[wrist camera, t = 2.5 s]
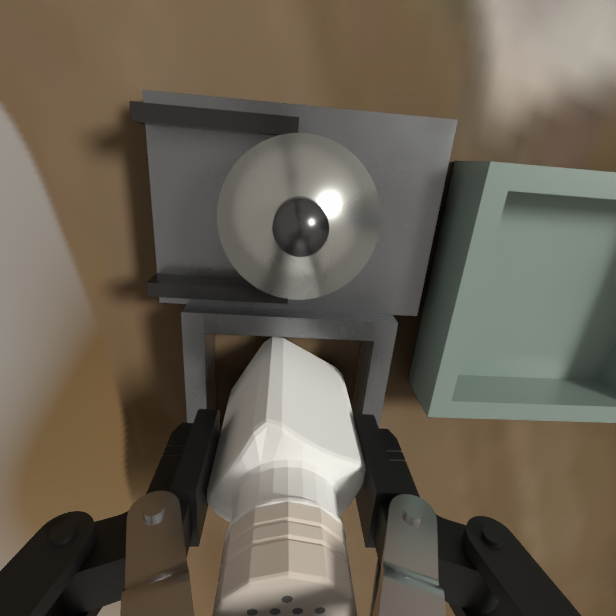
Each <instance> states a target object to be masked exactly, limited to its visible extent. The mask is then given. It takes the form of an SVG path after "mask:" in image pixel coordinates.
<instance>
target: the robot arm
mask: <svg viewBox="0 0 616 616" xmlns="http://www.w3.org/2000/svg"><path fill="white" fill-rule="evenodd" d="M353 418H354V422H355V426H356V430H357V434H358V438H359V442H360V446H361V450H362V453H363V457H364V461H365V465H366V474H365V479H364V484H363V486H362V487H361V489H360V490H359V492H358V493H357V495H356V496H355V497H356V502H357V507H358V512H359V517H360V522H361V527H362V532H363V537H364V542H365V547H371V548H376V551H377V556H378V560H377V564H376V570H375V578H374V585H373V593H372V601H371V608H370V616H445V601H446V602H448V603H449V605H450V607H451V608H452V610H453V612H454V614H455V615H456V616H581V615H580V614H579V612H578V611H577V610H576V609H575V608H574V606H573V605H572V604H571V603H570V602H569V600H568V599H567V598H566V597H565V596H564V595H563V593H562V592H561V591H560V590H559V589H558V587H557V586H556V585H555V584H554V583H553V581H552V580H551V579H550V578H549V577H548V575H547V574H546V573H545V572H544V571H543V570H542V568H541V567H540V566H539V565H538V564H537V562H536V561H535V560H534V559H533V558H532V556H531V555H530V554H529V553H528V552H527V550H526V549H525V548H524V547H523V546H522V545H521V543H520V542H519V541H518V540H517V539H516V537H515V536H514V535H513V534H512V533H511V532H510V531H509V529H507V528H506V527H505V526H504V525H503V524H501V523H500V522H498V521H496V520H494V519H492V518H489V517H485V516H476V517H473V518H471V519H470V520H469V521H468V523H467V525H463V524H460V523H457V522H453V521H450V520H447V519H444V518H442V517H440V516H438V515H436V514H435V512H434V510H433V509H432V507H431V506H430V505H429V504H428V503H427V502H426V501H424V500H423V499H421V498H420V496H419V494H418V491H417V489H416V486H415V484H414V481H413V479H412V476H411V474H410V471H409V468H408V466H407V463H406V462H405V458H404V456H403V453H402V452H401V448H400V445H399V443H398V440H397V438H396V437H395V436H394V435H393V434H392V433H391V432H390V431H389V430H388V429H379V428H378V425H377V422H376V419H375V416H374V415H373V414H354V415H353ZM219 438H220V411H219V409H198V411H197V414H196V417H195V420H194V422H193V423H182V424H180V425H179V426H178V427H177V428H176V429H175V430H174V431H173V432H172V434H171V436H170V439H169V441H168V444H167V447H166V448H165V451H164V453H163V456H162V458H161V460H160V463H159V465H158V467H157V470H156V472H155V475H154V477H153V479H152V482H151V484H150V486H149V489H148V491H147V493H146V495H144V496H142V497H141V498H139V499H138V500H137V501H136V502H135V503H134V504H133V505H132V506H131V508H130V509H129V511H127V512H125V513H124V514H121V515H118V516H115V517H111V518H107V519H104V520H100V521H96V522H94V521H93V519H92V517H91V516H90V515H89V514H87V513H85V512H80V511H74V512H68V513H65V514H62V515H59V516H57V517H56V518H53V519H52V520H50V521H49V522H47V523H46V524H45V525H44V526H43V527H42V528H41V529H40V530H39V531H38V532H37V533H36V534H35V535H34V536H33V537H32V538H31V539H30V540H29V541H28V542H27V543H26V544H25V546H24V547H23V548H22V549H21V550H20V551H19V552H18V553H17V554H16V555H15V556H14V557H13V558H12V560H10V561H9V563H8V564H7V565H6V566H5V567H4V568H3V569H2V570H1V571H0V616H97V614H98V613H99V611H100V610H101V608H102V607H103V606H105V605H108V604H111V603H114V602H117V601H120V600H121V616H194V610H193V601H192V593H191V585H190V577H189V570H188V567H187V559H186V558H187V554H188V550H189V546H199V543H200V539H201V534H202V530H203V525H204V521H205V517H206V512H207V508H208V502H207V488H208V483H209V479H210V475H211V471H212V467H213V463H214V458H215V454H216V450H217V446H218V442H219Z"/></svg>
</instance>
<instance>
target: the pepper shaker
mask: <svg viewBox="0 0 616 616" xmlns="http://www.w3.org/2000/svg"><path fill="white" fill-rule="evenodd" d="M365 474H366V465H365V461H364V457H363V453H362V450H361V446H360V442H359V438H358V434H357V430H356V426H355V422H354V418H353V412H352V408H351V404H350V400H349V397H348V393H347V389H346V385H345V381H344V377H343V375H342V374H341V372H340V371H339V370H338V368H336V367H334V366H333V365H331V364H329V363H327V362H325V361H324V360H322V359H320V358H318V357H317V356H315V355H313V354H311V353H309V352H308V351H306V350H304V349H302V348H300V347H299V346H297V345H295V344H293V343H291V342H290V341H288V340H286V339H284V338H282V337H274V336H272V337H271V338H269V339H268V340H267V341H265V342H264V343H263V344H262V346H261V347H260V348H259V350H258V351H257V353H256V354H255V356H254V357H253V359H252V360H251V362H250V363H249V365H248V366H247V367H246V369H245V370H244V372H243V373H242V375H241V376H240V378H239V379H238V381H237V382H236V384H235V385H234V386H233V388H232V389H231V392H230V396H229V400H228V404H227V409H226V413H225V417H224V421H223V425H222V429H221V434H220V438H219V442H218V446H217V450H216V454H215V458H214V463H213V467H212V471H211V475H210V479H209V483H208V488H207V502H208V504H209V505H210V507H211V508H212V509H213V511H214V512H215V513H216V514H217V515H219V516H221V517H222V518H224V519H225V520H227V521H228V522H230V523H231V524H230V525H229V527H228V529H227V531H226V536H225V542H224V548H223V554H222V560H221V564H222V565H221V568H220V573H219V579H218V582H219V584H218V587H217V591H216V597H215V603H214V610H213V616H357V611H356V605H355V598H354V592H353V585H352V581H351V572H350V566H349V559H348V553H347V546H346V532H345V529H344V526H343V524H342V522H341V520H340V515H341V514H342V513H343V512H344V511H345V510H346V508H347V507H348V506H349V505H350V504H351V502H352V501H353V499H354V498H355V496H356V495H357V493H358V492H359V490H360V489H361V487H362V486H363V484H364V479H365Z"/></svg>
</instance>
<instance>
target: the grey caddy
mask: <svg viewBox="0 0 616 616" xmlns="http://www.w3.org/2000/svg"><path fill="white" fill-rule="evenodd" d="M130 110H131V121H134V122H138V123H142V124H145V127H146V139H147V152H148V165H149V177H150V190H151V202H152V215H153V227H154V240H155V253H156V265H157V274H156V275H155V276H154V277H152V278H151V279H150V280H149V281H148V282H147V283H146V284H147V295H148V297H159V303H177V304H186V305H185V307H184V308H183V310H182V311H181V324H182V341H183V359H184V376H185V394H186V412H187V423H193V422H194V420H195V417H196V414H197V411H198V409H216V379H215V334H231V335H253V336H274V337H296V338H317V339H339V340H360V341H361V345H360V351H359V358H358V365H357V372H356V378H355V385H354V392H353V398H352V405H351V408H352V412H353V415H354V414H373V415H374V416H375V419H376V422H377V425H378V428H379V423H380V418H381V413H382V407H383V402H384V397H385V391H386V386H387V381H388V375H389V370H390V365H391V359H392V354H393V349H394V343H395V338H396V333H397V327H398V322H397V321H396V319H395V318H394V316H393V315H406V316H417V314H418V310H419V305H420V300H421V295H422V290H423V286H424V281H425V276H426V271H427V266H428V261H429V257H430V252H431V247H432V242H433V237H434V232H435V228H436V223H437V218H438V213H439V208H440V203H441V199H442V194H443V189H444V184H445V179H446V175H447V170H448V165H449V160H450V155H451V150H452V146H453V141H454V136H455V131H456V126H457V121H458V120H453V119H443V118H432V117H422V116H411V115H401V114H391V113H380V112H370V111H359V110H349V109H339V108H328V107H318V106H307V105H297V104H287V103H276V102H266V101H255V100H245V99H235V98H224V97H214V96H203V95H193V94H183V93H172V92H162V91H151V90H143V102H134V101H130Z"/></svg>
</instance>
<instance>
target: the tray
mask: <svg viewBox="0 0 616 616" xmlns="http://www.w3.org/2000/svg"><path fill="white" fill-rule="evenodd" d="M408 382H409V384H410V386H411V387H412V389H413V391H414V393H415V395H416V397H417V398H418V400H419V402H420V404H421V406H422V408H423V410H424V411H425V413H426V415H427V417H443V418H476V419H508V420H541V421H574V422H607V423H616V172H605V171H593V170H582V169H571V168H559V167H548V166H536V165H525V164H513V163H502V162H491V161H454V166H453V171H452V175H451V180H450V185H449V190H448V194H447V199H446V204H445V208H444V213H443V218H442V223H441V227H440V232H439V237H438V241H437V246H436V251H435V256H434V260H433V265H432V270H431V274H430V279H429V284H428V289H427V293H426V298H425V303H424V307H423V312H422V317H421V321H420V326H419V331H418V336H417V340H416V345H415V350H414V354H413V359H412V364H411V369H410V373H409V378H408Z"/></svg>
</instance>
